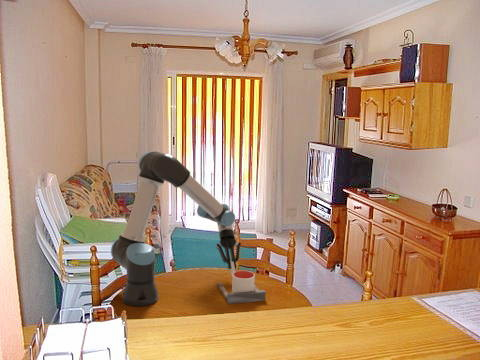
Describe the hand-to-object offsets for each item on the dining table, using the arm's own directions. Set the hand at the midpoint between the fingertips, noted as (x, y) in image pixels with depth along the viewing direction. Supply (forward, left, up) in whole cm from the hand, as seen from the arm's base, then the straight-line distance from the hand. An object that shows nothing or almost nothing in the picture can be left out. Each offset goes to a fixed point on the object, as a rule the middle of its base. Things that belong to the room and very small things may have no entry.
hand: (233, 274), depth 200 cm
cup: (+10, -10, -4) cm, 15 cm away
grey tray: (+7, -7, -4) cm, 11 cm away
